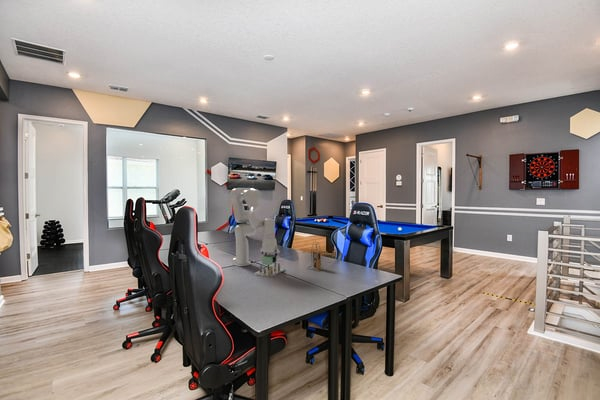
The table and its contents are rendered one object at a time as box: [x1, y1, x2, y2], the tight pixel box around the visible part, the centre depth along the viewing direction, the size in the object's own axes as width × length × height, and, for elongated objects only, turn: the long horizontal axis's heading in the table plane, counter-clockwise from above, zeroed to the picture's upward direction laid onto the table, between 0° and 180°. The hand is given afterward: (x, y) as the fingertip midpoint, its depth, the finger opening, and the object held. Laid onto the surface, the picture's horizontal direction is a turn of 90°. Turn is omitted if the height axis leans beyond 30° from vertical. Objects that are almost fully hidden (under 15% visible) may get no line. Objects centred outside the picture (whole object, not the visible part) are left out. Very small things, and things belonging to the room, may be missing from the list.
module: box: [261, 253, 278, 266], centre depth 204 cm, size 12×6×6 cm, turn 162°
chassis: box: [254, 261, 286, 278], centre depth 204 cm, size 18×14×6 cm
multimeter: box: [309, 241, 324, 272], centre depth 211 cm, size 15×10×20 cm
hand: (270, 261), depth 204 cm, fingers closed on module, 6 cm apart
